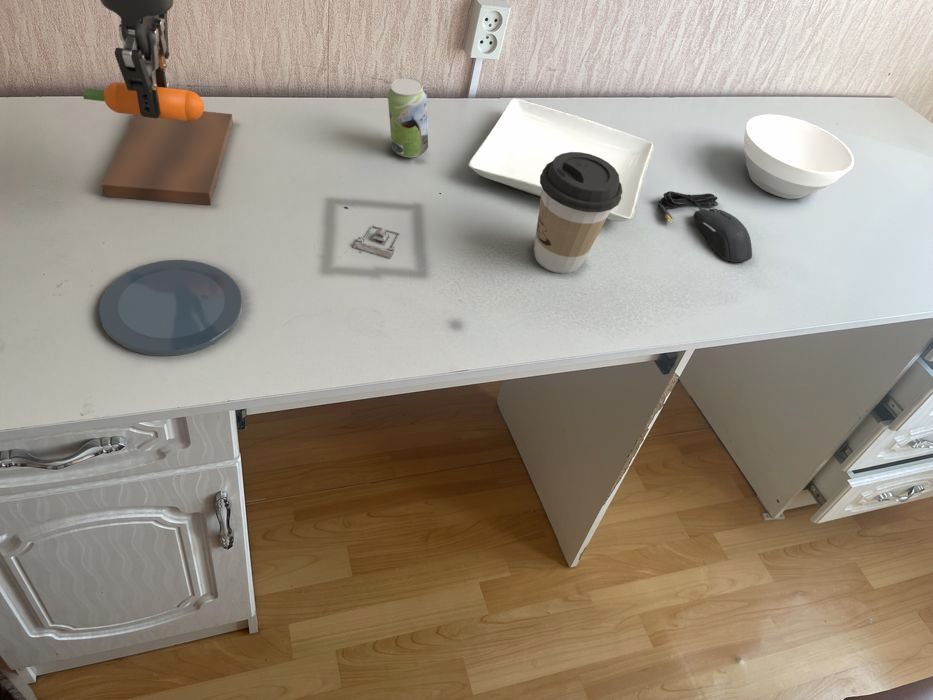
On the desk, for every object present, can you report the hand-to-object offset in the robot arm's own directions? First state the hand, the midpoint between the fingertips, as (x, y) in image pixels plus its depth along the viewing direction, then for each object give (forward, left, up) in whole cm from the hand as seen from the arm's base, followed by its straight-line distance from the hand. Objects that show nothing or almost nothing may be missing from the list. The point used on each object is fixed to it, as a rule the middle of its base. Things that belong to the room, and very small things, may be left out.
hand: (155, 107), depth 88 cm
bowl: (+102, +22, -15) cm, 105 cm away
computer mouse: (+81, +5, -15) cm, 83 cm away
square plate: (+60, +19, -15) cm, 65 cm away
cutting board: (-2, +12, -15) cm, 19 cm away
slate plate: (+4, -20, -15) cm, 25 cm away
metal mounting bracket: (+30, -8, -15) cm, 35 cm away
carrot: (-1, 0, -1) cm, 2 cm away
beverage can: (+33, +20, -15) cm, 41 cm away
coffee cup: (+55, -5, -15) cm, 57 cm away
